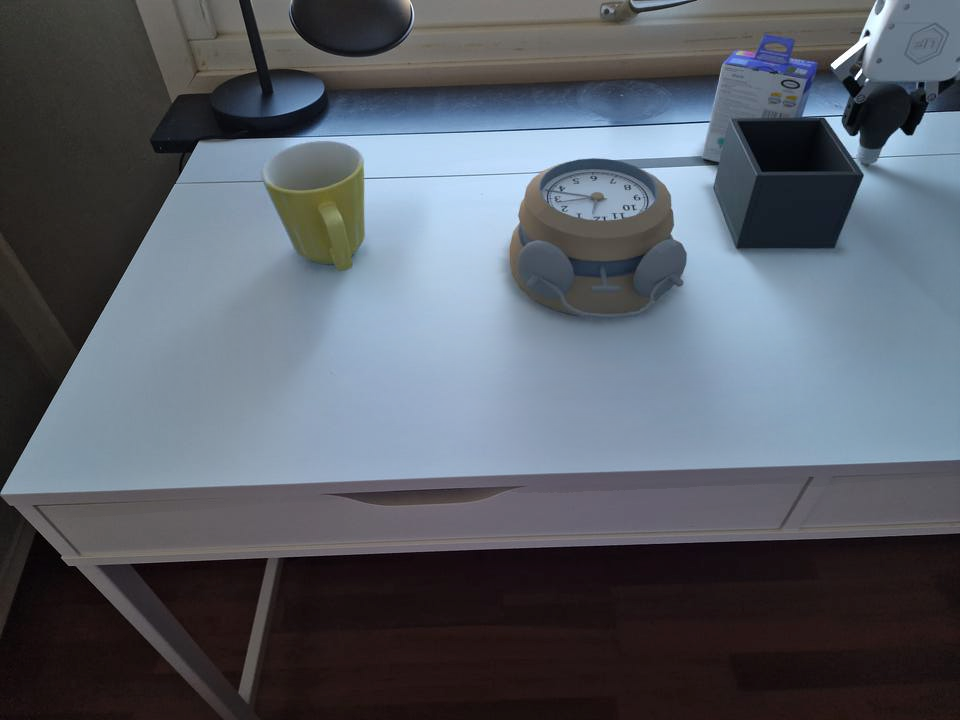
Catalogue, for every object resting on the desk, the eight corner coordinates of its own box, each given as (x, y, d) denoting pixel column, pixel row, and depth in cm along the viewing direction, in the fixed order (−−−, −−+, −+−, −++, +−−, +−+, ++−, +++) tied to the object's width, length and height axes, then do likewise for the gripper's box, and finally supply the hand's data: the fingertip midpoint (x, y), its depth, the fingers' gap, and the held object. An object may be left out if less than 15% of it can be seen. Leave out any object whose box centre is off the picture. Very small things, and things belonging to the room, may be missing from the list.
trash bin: (800, 187, 83) (824, 117, 76) (834, 248, 74) (864, 174, 68) (712, 187, 83) (729, 118, 77) (735, 248, 74) (756, 175, 68)
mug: (285, 229, 79) (262, 145, 72) (373, 218, 80) (360, 134, 73) (283, 305, 70) (256, 216, 62) (383, 291, 71) (369, 202, 63)
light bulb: (840, 173, 85) (865, 94, 78) (839, 151, 88) (862, 73, 81) (891, 177, 83) (921, 96, 76) (888, 154, 87) (915, 75, 80)
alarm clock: (671, 143, 72) (721, 280, 56) (658, 218, 79) (698, 360, 62) (509, 145, 73) (511, 282, 57) (509, 219, 79) (510, 361, 63)
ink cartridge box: (790, 159, 87) (828, 40, 77) (779, 178, 84) (816, 58, 74) (713, 141, 91) (739, 26, 81) (700, 159, 88) (725, 42, 78)
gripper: (870, -26, 67) (812, 146, 80) (1053, -29, 66) (965, 145, 79) (844, -48, 72) (794, 117, 85) (1013, -51, 72) (937, 115, 84)
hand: (877, 129), depth 82 cm, fingers closed on light bulb, 5 cm apart
